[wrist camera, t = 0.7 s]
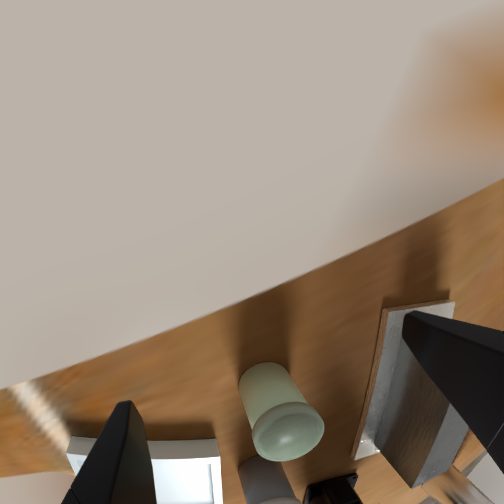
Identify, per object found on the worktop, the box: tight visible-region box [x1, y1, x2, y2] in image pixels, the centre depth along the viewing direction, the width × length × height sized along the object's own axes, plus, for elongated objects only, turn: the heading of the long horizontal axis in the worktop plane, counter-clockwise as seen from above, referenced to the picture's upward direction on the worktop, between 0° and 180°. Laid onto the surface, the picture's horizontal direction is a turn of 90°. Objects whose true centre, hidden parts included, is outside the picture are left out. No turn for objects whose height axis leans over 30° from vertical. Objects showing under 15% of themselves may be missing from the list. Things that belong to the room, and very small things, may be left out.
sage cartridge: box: [238, 362, 324, 461], centre depth 22 cm, size 5×5×7 cm
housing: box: [351, 299, 469, 489], centre depth 25 cm, size 18×9×9 cm, turn 178°
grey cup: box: [238, 455, 301, 504], centre depth 24 cm, size 5×5×7 cm
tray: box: [66, 436, 223, 504], centre depth 24 cm, size 13×14×2 cm
